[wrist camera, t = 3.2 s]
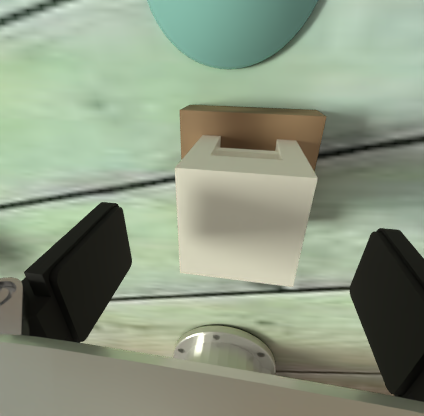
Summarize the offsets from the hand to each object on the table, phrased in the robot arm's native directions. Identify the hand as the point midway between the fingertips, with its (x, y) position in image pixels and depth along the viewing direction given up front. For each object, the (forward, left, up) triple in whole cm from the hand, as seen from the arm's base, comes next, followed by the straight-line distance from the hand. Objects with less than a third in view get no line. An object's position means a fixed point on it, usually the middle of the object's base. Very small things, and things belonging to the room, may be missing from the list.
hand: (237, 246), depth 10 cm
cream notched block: (0, +1, -9) cm, 9 cm away
